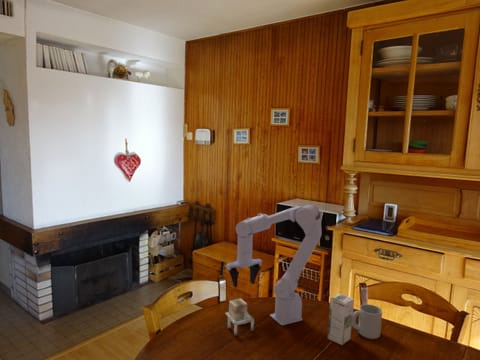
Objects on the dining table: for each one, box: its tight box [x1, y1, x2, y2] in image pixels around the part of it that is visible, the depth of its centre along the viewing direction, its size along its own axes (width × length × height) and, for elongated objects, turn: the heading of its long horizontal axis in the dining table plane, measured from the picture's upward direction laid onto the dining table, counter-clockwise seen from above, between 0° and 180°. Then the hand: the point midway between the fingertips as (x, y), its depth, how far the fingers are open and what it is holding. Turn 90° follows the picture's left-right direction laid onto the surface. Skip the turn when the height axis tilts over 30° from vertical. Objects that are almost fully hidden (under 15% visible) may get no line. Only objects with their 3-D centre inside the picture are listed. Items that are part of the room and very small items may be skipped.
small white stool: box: [227, 311, 255, 336], centre depth 122 cm, size 8×6×4 cm
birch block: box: [228, 298, 248, 319], centre depth 131 cm, size 5×5×5 cm
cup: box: [352, 303, 383, 340], centre depth 121 cm, size 7×10×9 cm
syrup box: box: [326, 293, 355, 346], centre depth 117 cm, size 6×6×14 cm
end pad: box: [224, 311, 249, 322], centre depth 131 cm, size 7×7×1 cm
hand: (243, 284), depth 137 cm, fingers open, 7 cm apart
